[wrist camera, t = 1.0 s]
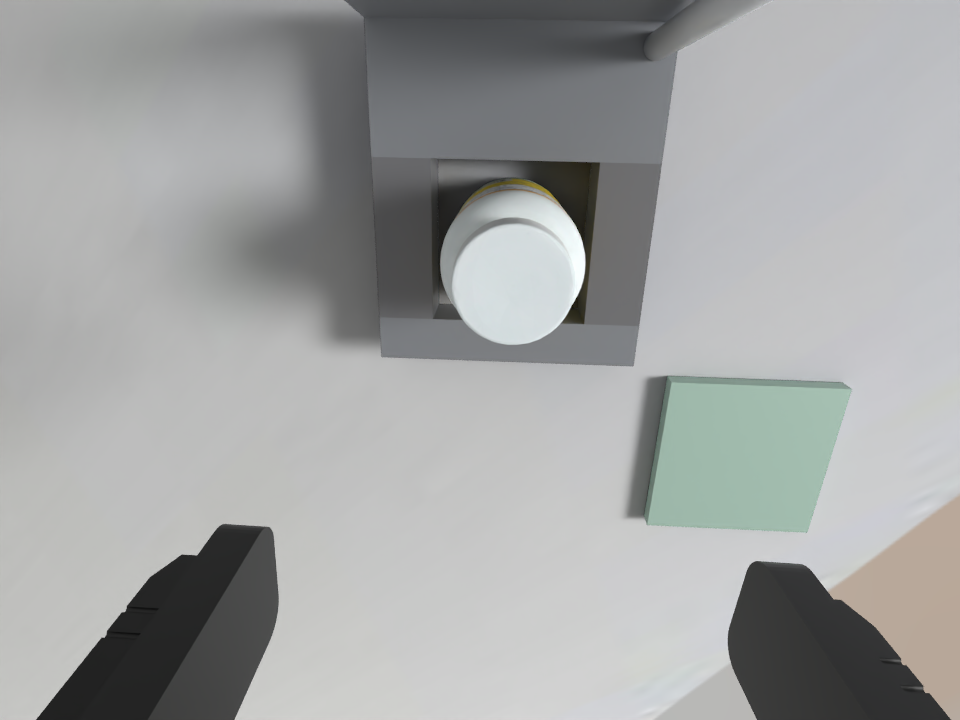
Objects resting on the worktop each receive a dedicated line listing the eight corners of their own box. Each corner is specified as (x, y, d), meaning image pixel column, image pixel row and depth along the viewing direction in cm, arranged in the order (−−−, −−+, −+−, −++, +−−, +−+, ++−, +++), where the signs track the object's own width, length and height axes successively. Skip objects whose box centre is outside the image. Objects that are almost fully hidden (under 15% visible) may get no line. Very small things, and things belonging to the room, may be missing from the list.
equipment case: (377, 7, 23) (217, -158, 10) (666, 12, 22) (872, -155, 10) (391, 339, 28) (300, 497, 16) (622, 347, 28) (717, 516, 15)
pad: (667, 376, 28) (671, 382, 28) (842, 382, 28) (851, 389, 27) (644, 516, 32) (647, 525, 31) (799, 523, 31) (807, 532, 31)
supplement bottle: (478, 159, 25) (462, 169, 16) (585, 201, 25) (629, 235, 16) (440, 268, 27) (407, 332, 18) (541, 305, 27) (558, 385, 18)
